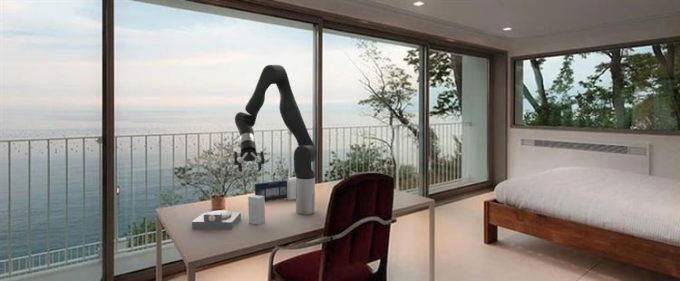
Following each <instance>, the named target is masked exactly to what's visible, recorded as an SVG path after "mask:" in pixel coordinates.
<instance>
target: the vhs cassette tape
mask: <svg viewBox="0 0 680 281" xmlns="http://www.w3.org/2000/svg"><path fill="white" fill-rule="evenodd" d="M287 180H288V179H287ZM287 180H286V179H284V180H277V181H268V182H260V183H259V182H258V183H255V184H254V195H258V196H264V199H265V202H271V201H276V200H277V199H278V200H284V199H285V198H286V199H287ZM270 200H271V201H270Z"/></svg>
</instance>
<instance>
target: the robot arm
mask: <svg viewBox="0 0 680 281" xmlns="http://www.w3.org/2000/svg"><path fill="white" fill-rule="evenodd" d="M271 85H276V87H277V90H278V92H279V113H280V116H281V118H282V121H283V123H284V125H285V126H286V128H287V129H288V130H289V132H291V133H292V135H293V136H294V138H295V140H296V143H297V145H298V146H297V147H296V148H295V149H294V151H293V171H294V173H295V177H296V199H295V213H296V214H298V215H306V216H307V215H313V214H315V212H316V173H315V171H314V170H313V168H312V163H313V162H314V161H316V160H317V158H318V150H317V148H316V146H315V144H314V141H313V140H312V138H311V135H310V133H309V132H308V129H307V126H306V124H305V121H304V119H303V116H302V113H301V110H300V108H299V106H298V103H297V101H296V98H295V96H294V93H293V90H292V87H291V84H290V80H289V77H288V74H287V71H286V69H285V67H284V66H283V65H280V64H267V65H265V66H264V67H263V69H262V71H261V73H260V75H259V78H258V81H257V83H256V86H255V89H254V91H253V93H252V95H251V97H250V99H248V101H247V103H246V105H245V107H244V109H245V111H246V112H243V111H239V112H238V111H237V113H236V114H235V116H234V123H235V125H236V128H237V131H238V132H239V148H240V149H239V150H240V153H239V152H234V155H233V161H234V162H233V165H234V166H238V171H239V172H240V173H242V172H243V166H242V165H243V164H244V163H245V162H247V163H248V162H254V163H255V164H256V165H257V169H258V171H257V172H261V170H262V165H264V164H265V160H266V159H265V155H264V152H263V151H260V152H257V147H256V146H257V145H256V139H255V132H254V128H253V127H254V126H255V124H256V120H257V116H258V114H259V112H260V111H261V108H262V107H263V105H264V103H265V98H266V97H265V96H266V92H267V90H268V88H269V87H270V86H271ZM239 157H240V159H239V160H238V158H239Z"/></svg>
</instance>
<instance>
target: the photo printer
mask: <svg viewBox="0 0 680 281" xmlns="http://www.w3.org/2000/svg"><path fill="white" fill-rule="evenodd" d="M286 200H288V201H290V200H296V176H293V177H289V178H287V198H286Z"/></svg>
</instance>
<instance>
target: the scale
mask: <svg viewBox="0 0 680 281" xmlns="http://www.w3.org/2000/svg"><path fill="white" fill-rule="evenodd" d="M241 220H242V213H241V212H232V211H230V210H226V209H225V210H224V209H223V210H222V209H221V210H213V211H208V212H207V211H203V212H202V213H201V214H200V215H198V216H197V217H196V218H195V219H193V220H192V221H191V229H195V230H198V229H199V230H232V229H234V228H235V226H236V225H237V224H238V223H239V221H241Z"/></svg>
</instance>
